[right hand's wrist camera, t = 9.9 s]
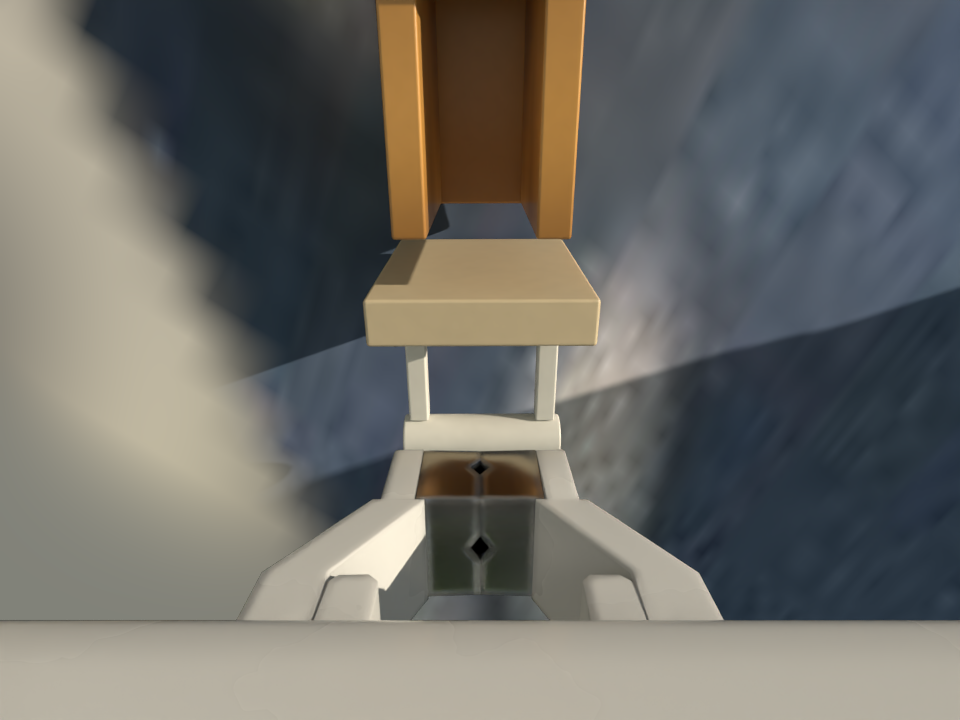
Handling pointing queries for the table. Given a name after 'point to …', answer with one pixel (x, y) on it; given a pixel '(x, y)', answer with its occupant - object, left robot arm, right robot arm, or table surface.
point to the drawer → (481, 200)
